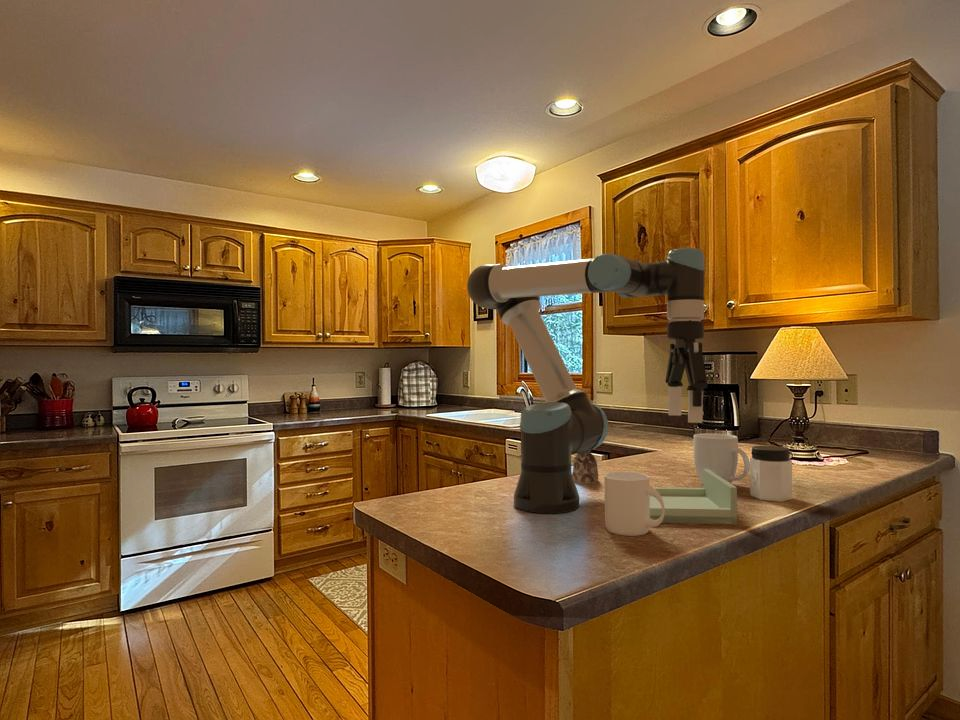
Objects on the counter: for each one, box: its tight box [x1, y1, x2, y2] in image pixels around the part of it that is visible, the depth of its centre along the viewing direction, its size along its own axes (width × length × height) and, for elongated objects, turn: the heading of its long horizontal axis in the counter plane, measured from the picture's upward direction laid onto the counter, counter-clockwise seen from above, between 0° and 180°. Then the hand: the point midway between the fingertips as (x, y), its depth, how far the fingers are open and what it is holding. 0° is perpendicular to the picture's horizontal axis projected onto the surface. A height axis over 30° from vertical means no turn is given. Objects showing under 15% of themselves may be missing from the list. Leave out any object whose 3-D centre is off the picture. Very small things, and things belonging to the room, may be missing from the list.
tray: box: [650, 469, 738, 525], centre depth 124 cm, size 18×19×8 cm
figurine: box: [572, 450, 599, 485], centre depth 156 cm, size 7×7×12 cm
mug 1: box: [603, 471, 665, 537], centre depth 109 cm, size 9×12×11 cm
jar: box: [749, 445, 793, 503], centre depth 135 cm, size 9×8×12 cm
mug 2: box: [692, 432, 750, 484], centre depth 148 cm, size 15×11×13 cm
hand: (684, 418), depth 122 cm, fingers open, 13 cm apart
